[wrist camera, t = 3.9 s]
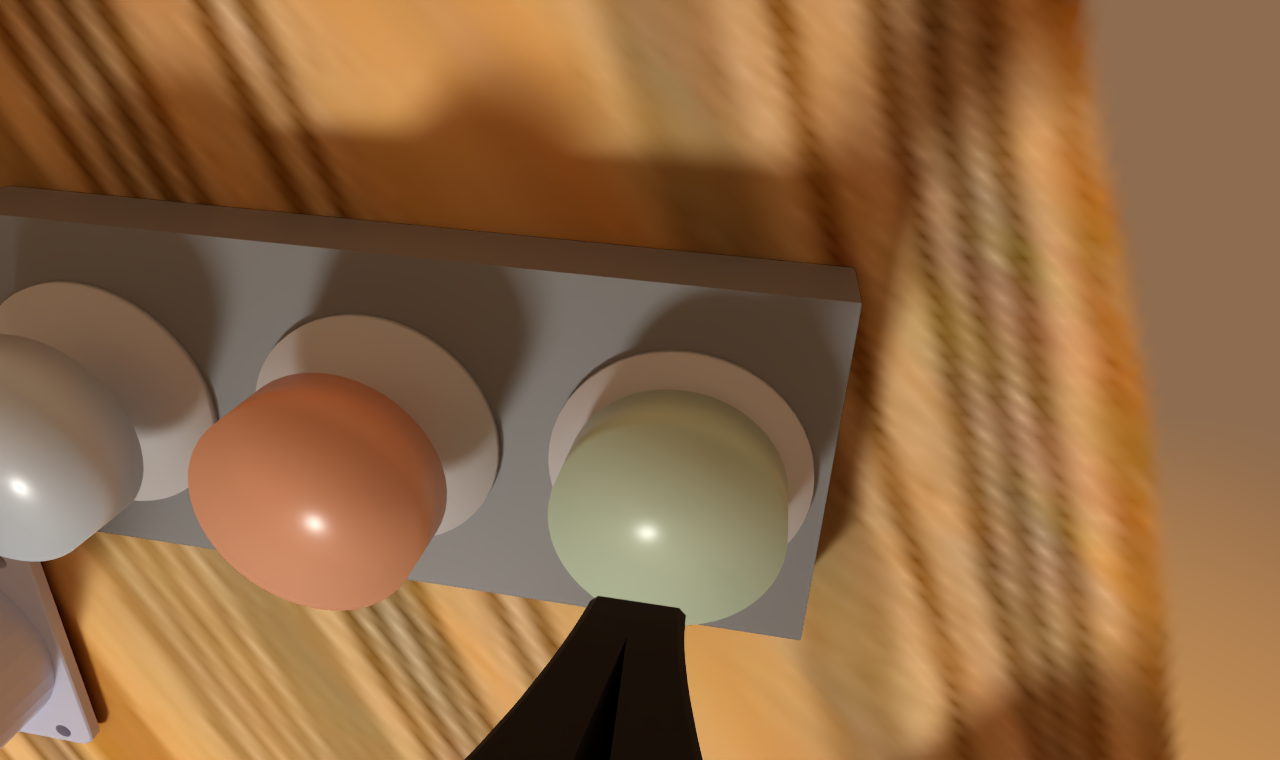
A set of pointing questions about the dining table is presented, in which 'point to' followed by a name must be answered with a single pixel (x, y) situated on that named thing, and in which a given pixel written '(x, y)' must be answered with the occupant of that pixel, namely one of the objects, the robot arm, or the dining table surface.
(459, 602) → the dining table surface
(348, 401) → the terracotta button
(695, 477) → the green button
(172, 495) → the button board
